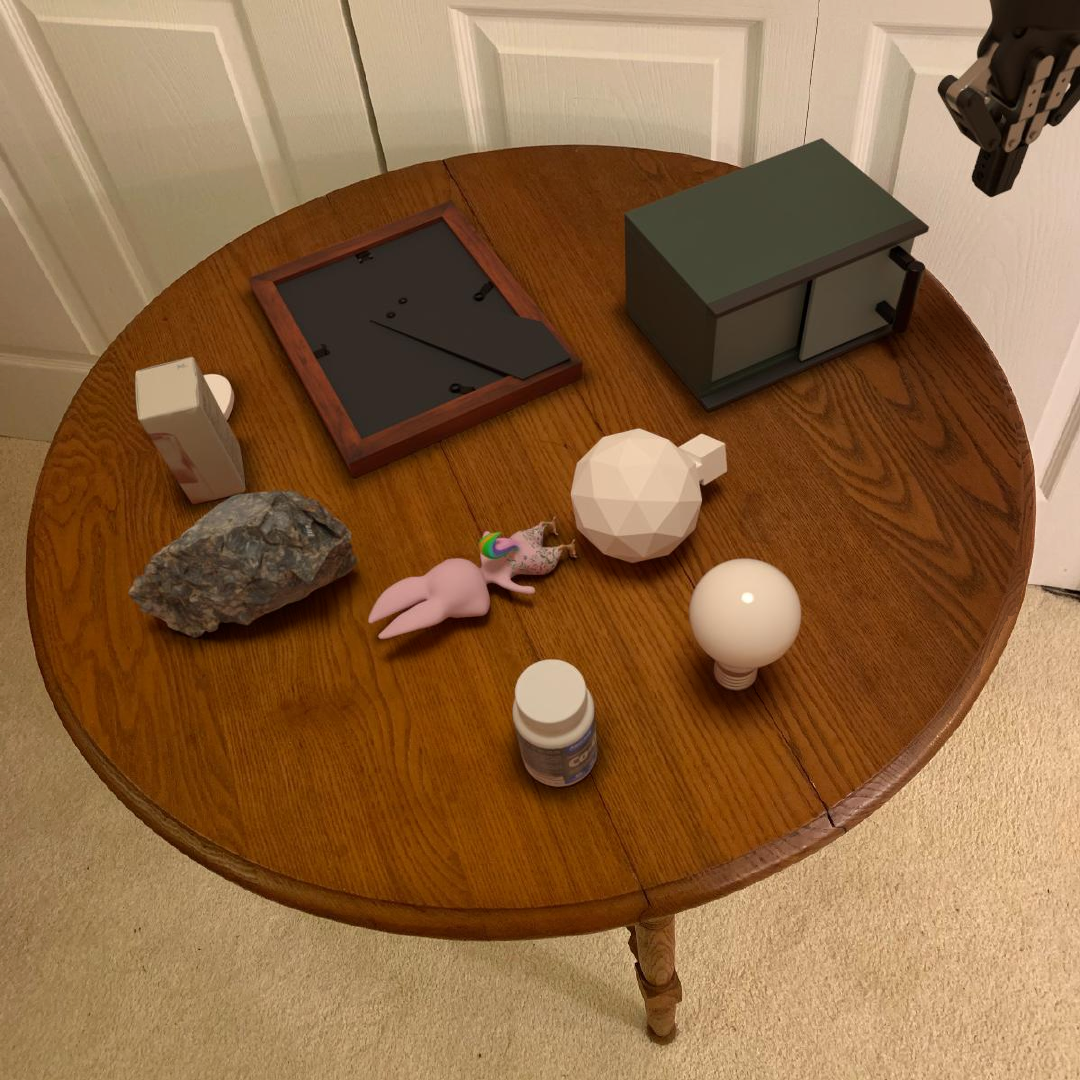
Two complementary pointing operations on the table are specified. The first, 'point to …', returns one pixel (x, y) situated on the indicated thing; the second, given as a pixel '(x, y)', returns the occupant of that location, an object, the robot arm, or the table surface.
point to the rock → (244, 562)
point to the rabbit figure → (467, 581)
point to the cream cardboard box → (189, 430)
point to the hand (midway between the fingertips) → (991, 187)
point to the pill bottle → (555, 723)
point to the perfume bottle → (643, 492)
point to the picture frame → (411, 335)
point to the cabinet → (753, 266)
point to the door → (862, 299)
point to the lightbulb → (744, 618)
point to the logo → (221, 392)
